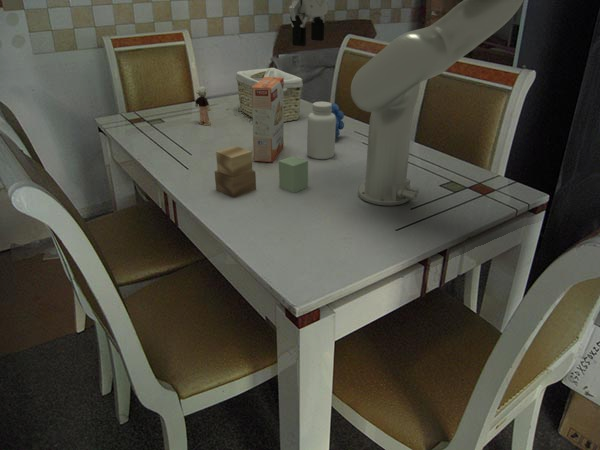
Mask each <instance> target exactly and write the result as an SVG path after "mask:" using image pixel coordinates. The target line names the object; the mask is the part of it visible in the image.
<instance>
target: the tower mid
mask: <svg viewBox="0 0 600 450" xmlns="http://www.w3.org/2000/svg"><path fill="white" fill-rule="evenodd" d="M215 155H216V168H217V169H216V171H217V170H218V172H220V173H223V174H225V175H227V176H229V177H232V178H234V177H237V176H240V175H243V174H246V173H249V172H252V171H253V153H252V151H250V150H248V149H245V148H243V147H240V146H238V145H234V146H230V147H228V148H227V147H226V148H225V149H220V150H217V151H215Z"/></svg>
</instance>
